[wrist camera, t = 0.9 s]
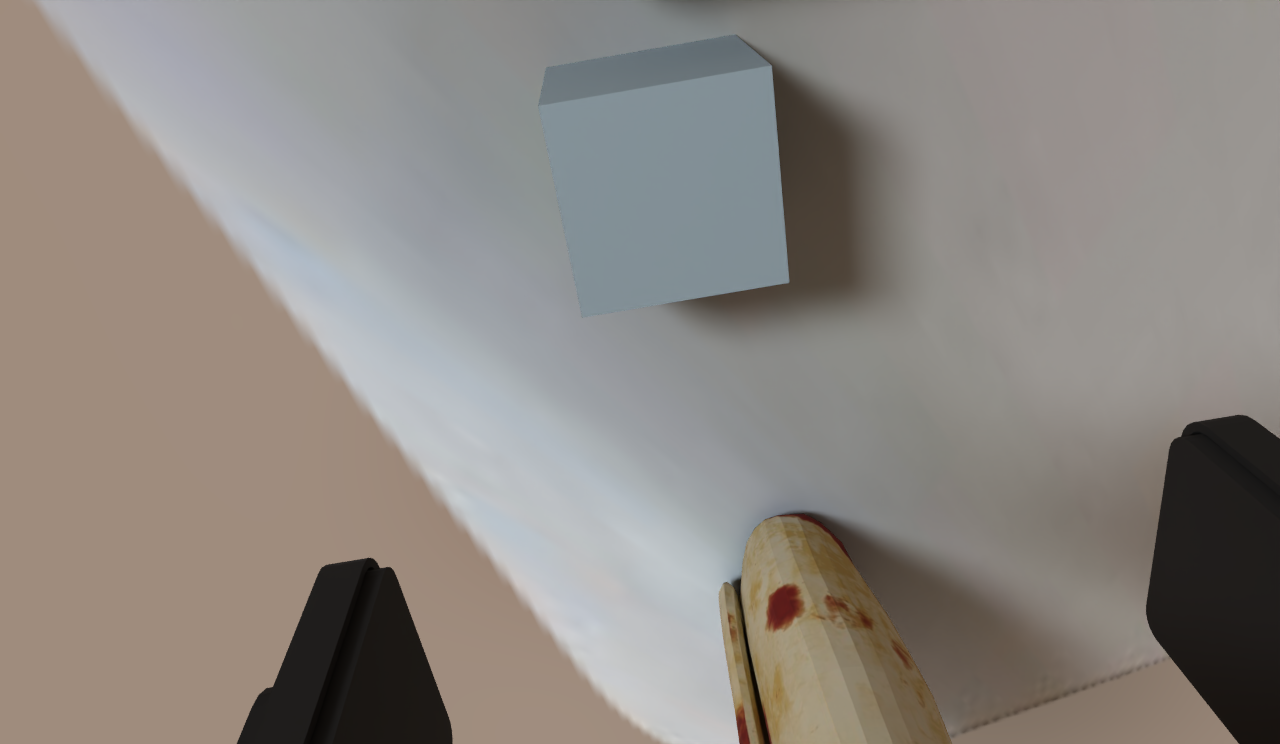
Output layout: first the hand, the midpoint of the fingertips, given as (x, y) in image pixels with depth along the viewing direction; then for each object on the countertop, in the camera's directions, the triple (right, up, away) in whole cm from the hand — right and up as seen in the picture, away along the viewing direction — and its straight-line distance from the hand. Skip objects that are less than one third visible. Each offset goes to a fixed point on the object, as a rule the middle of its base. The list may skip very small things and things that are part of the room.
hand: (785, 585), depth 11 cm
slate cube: (-1, +10, +18) cm, 21 cm away
